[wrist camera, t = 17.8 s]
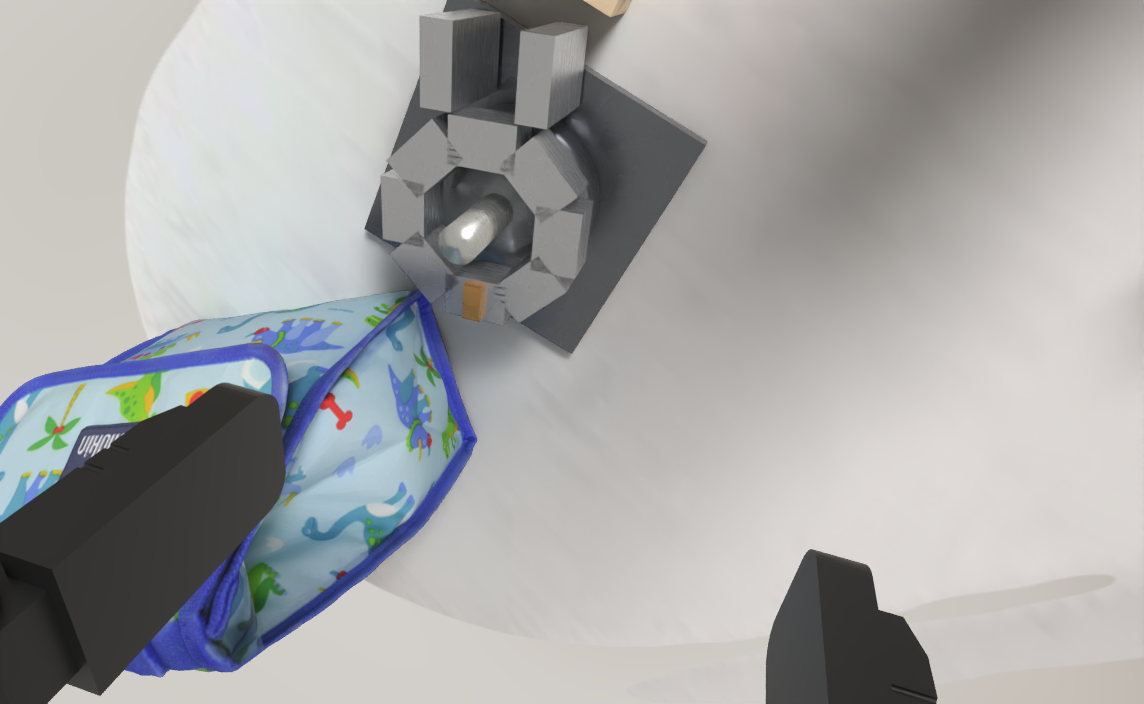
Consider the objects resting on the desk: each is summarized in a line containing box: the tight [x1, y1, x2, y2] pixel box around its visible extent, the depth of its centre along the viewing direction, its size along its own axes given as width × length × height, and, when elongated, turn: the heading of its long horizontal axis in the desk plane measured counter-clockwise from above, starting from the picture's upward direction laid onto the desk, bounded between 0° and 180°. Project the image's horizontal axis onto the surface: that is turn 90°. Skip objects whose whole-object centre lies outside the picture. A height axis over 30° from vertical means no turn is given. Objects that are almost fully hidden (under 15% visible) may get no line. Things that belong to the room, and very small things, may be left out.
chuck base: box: [365, 0, 707, 354], centre depth 37 cm, size 16×16×10 cm
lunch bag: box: [0, 290, 477, 677], centre depth 42 cm, size 22×17×26 cm
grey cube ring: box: [381, 9, 594, 326], centre depth 36 cm, size 11×15×7 cm
